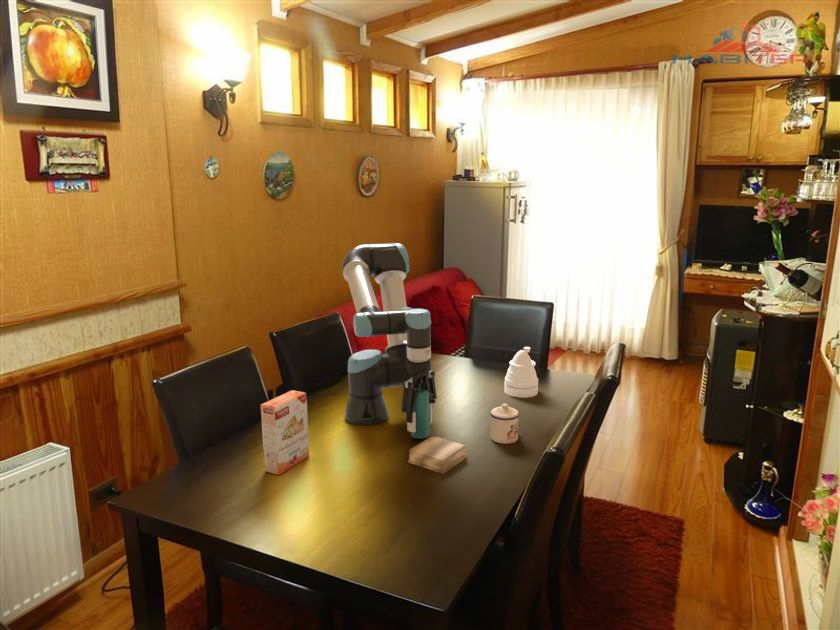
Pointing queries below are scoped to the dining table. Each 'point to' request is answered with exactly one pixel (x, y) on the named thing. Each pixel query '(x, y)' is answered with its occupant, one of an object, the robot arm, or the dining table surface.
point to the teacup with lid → (504, 424)
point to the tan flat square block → (437, 454)
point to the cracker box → (285, 431)
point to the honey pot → (521, 376)
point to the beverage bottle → (422, 414)
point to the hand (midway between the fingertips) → (419, 426)
